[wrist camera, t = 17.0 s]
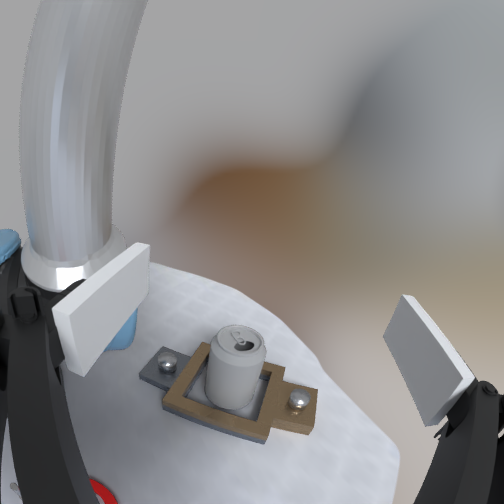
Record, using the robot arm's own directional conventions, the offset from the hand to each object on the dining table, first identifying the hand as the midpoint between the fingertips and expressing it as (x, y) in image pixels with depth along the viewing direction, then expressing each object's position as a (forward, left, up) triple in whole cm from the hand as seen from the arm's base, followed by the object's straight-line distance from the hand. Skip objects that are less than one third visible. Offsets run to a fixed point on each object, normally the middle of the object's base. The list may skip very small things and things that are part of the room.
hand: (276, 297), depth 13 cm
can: (-4, +17, -28) cm, 33 cm away
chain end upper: (-1, +17, -28) cm, 33 cm away
